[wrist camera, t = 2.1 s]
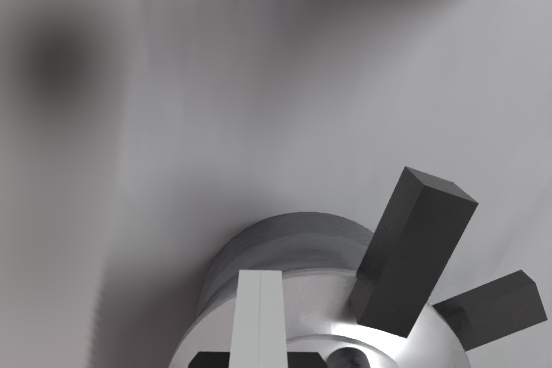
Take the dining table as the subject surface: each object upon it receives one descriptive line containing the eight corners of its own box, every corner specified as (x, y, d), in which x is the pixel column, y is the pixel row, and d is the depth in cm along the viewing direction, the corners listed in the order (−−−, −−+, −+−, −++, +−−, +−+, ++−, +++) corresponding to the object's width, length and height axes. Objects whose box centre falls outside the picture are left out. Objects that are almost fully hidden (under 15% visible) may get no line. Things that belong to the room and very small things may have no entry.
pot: (241, 424, 43) (233, 536, 33) (139, 272, 37) (95, 355, 28) (506, 321, 39) (581, 412, 30) (438, 136, 34) (504, 177, 24)
